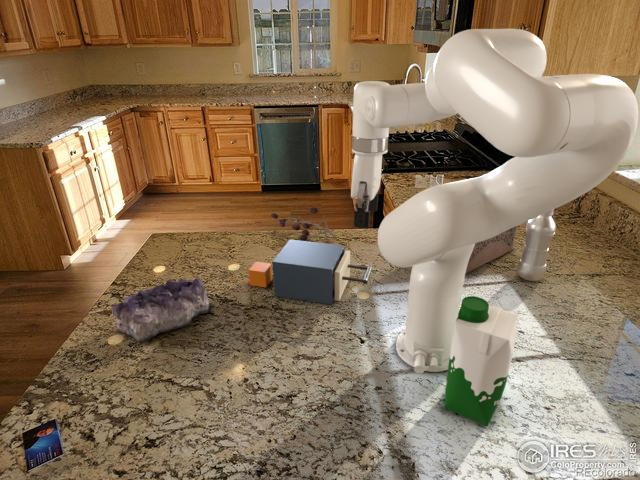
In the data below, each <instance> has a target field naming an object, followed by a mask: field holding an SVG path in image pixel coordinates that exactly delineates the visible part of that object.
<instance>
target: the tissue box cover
mask: <svg viewBox="0 0 640 480" xmlns="http://www.w3.org/2000/svg"><path fill="white" fill-rule="evenodd" d="M517 228H518V225H517V226H515V227H513V228H511V229H509V230H507V231H504V232H503V233H501V234H499V235H497V236H495V237H492V238H490V239H487V240H484V241H481V242H478V243H475V246H474V248H473V251H472V253H471V256H470V259H469V261H468V265H467V268H466V273H465V275H466V274H468V273H469V272H471V271H474V270H475V269H477V268H479V267H481V266H483V265H485V264H487V263H489V262H492V261H493V260H495V259H497V258H499V257H501V256H503V255H505V254H506V253H509V252H511V251H512V250H513V247H514V243H515V237H516V233H517Z"/></svg>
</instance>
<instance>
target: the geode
mask: <svg viewBox="0 0 640 480" xmlns="http://www.w3.org/2000/svg"><path fill="white" fill-rule="evenodd" d="M209 294H210V292H208V291H207V289H206V287H205V284H204V282H203V281H202V279H201V278H200V277H195V278H194V279H193V280H189V279H185V278H180V279H179V280H178V281H177V280H175V281H173V280H171V279H167V280H166V282H165V284H163V283H161V284H159V285H156V286H154V287H151V288H148V289H145V290H142V289H139V290H138V292H136V293H134V294H133V295H128V296H126V297H125V298H124V300H123V301H122V302H119V303H117V304H114V305H112V306H111V313H112V315H113V316H115V317H116V318H115V320H116V321H115V323H116V329H117V331H119V332H121V333H123V334H126V335H128V336H130V337H131V338H133V339H134V340H135V342H138V343H143V342H146V341H149V340H151V339H152V338H153V337H156V336H157V335H159V334H161V333H166V332H167V333H168V332H170V331H174V330H176V329H181V328H184V327H187V326H188V325H190V324H191V323H192V320H193V319H194V318H196V317H198V316H199V315H203V314H204V315H205V314H208V313H209V310H210V308H211V305H210V302H209Z"/></svg>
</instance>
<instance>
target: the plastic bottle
mask: <svg viewBox="0 0 640 480" xmlns="http://www.w3.org/2000/svg"><path fill="white" fill-rule="evenodd" d="M554 212H555V209H553V210H551V211H548V212H546V213H544V214H542V215H540V216H538V217H536V218H534V219H532V220H529V221H527V222H526V225H525V239H524V246H523V250H522V255H521V257H520V259H519V262H518V263H517V269H516V271H517V274H518V276H519V277H520V278H521V279H523V280H526V281H529V282H539V281H541V280H542V279H543V278H544V277H545V275H546V274H547V258H548V252H549V249H550V245H551V243H552V240H553V237H554V235H555V234H556V230H557V224H556V221H555V220H554V218H553V216H554Z"/></svg>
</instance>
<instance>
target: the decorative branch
mask: <svg viewBox="0 0 640 480" xmlns="http://www.w3.org/2000/svg"><path fill="white" fill-rule="evenodd" d="M309 212H310V213H311V214H313V215H314V214H317V213H318V212H320V213H321V214H322V216H323V219H322V222H320V223H314V222H311V220H309V221H304V220H306V219H307V217H304V218H302V219H301V221H300V218H301V216H298V217H289V216H287V217H286V218H284V217H283V218H281V217H280V216H279V214H278V213H276V212H272V213H271V214H270V216H271V218H272V219H275V220H277V219H278V221H279V226H280V227H281V228H284V227H285V226H287V224H288V223H289V222H290V221H292V220H293V221H292V223H293V224H292V226H291V227H292V229H293V230H294V231H299V230H301V228H302V227H303V229H302V230H301V234H300V235H299V241H308V239H313V238H316V237H318V236H319V235H325V238H326V240H327V243H329V242H330V240H329V237H328V234H327V233H329V234H330V235H331V236H332V237H334V238H335V239H338V236H337V235H336V234H335V233H334V232H333V231H332V230H331V229H330V228H328V222H327V221H326V220H325V219H326V216H325V214H324V213H323V211H321V210H320V209H319V208H318V207H317V206H311V208H309ZM323 223H324V224H325V227H321V226H320V225H322V224H323ZM313 226H314V228H313ZM311 228H312V229H311ZM310 229H311V230H310ZM315 229H318V230H319V232H317V234H316V235H313V236H310V234H311V233H312V232H313V231H314V230H315Z"/></svg>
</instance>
